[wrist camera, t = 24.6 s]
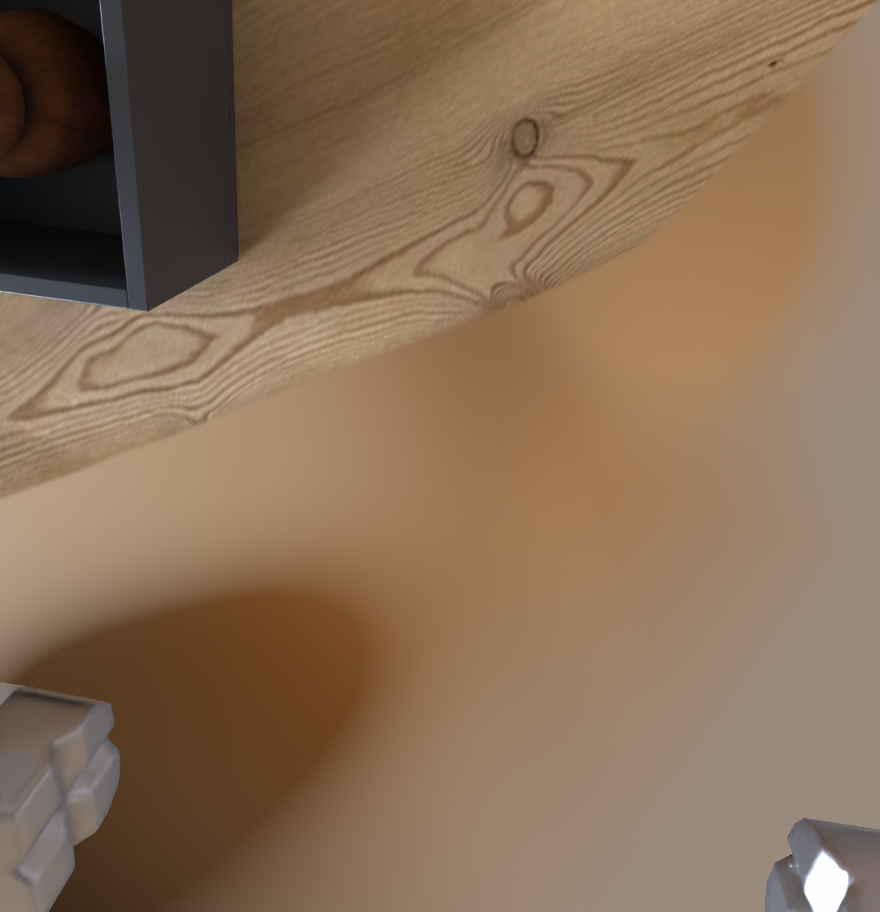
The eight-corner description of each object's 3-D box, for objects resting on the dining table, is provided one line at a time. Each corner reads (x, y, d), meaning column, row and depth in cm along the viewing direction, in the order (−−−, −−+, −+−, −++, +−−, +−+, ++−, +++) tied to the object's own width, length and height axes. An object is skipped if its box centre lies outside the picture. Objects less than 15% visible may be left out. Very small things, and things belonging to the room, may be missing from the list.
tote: (230, -52, 32) (112, -109, 23) (238, 261, 38) (148, 312, 29) (-64, -82, 33) (-288, -149, 24) (-9, 228, 39) (-171, 269, 30)
